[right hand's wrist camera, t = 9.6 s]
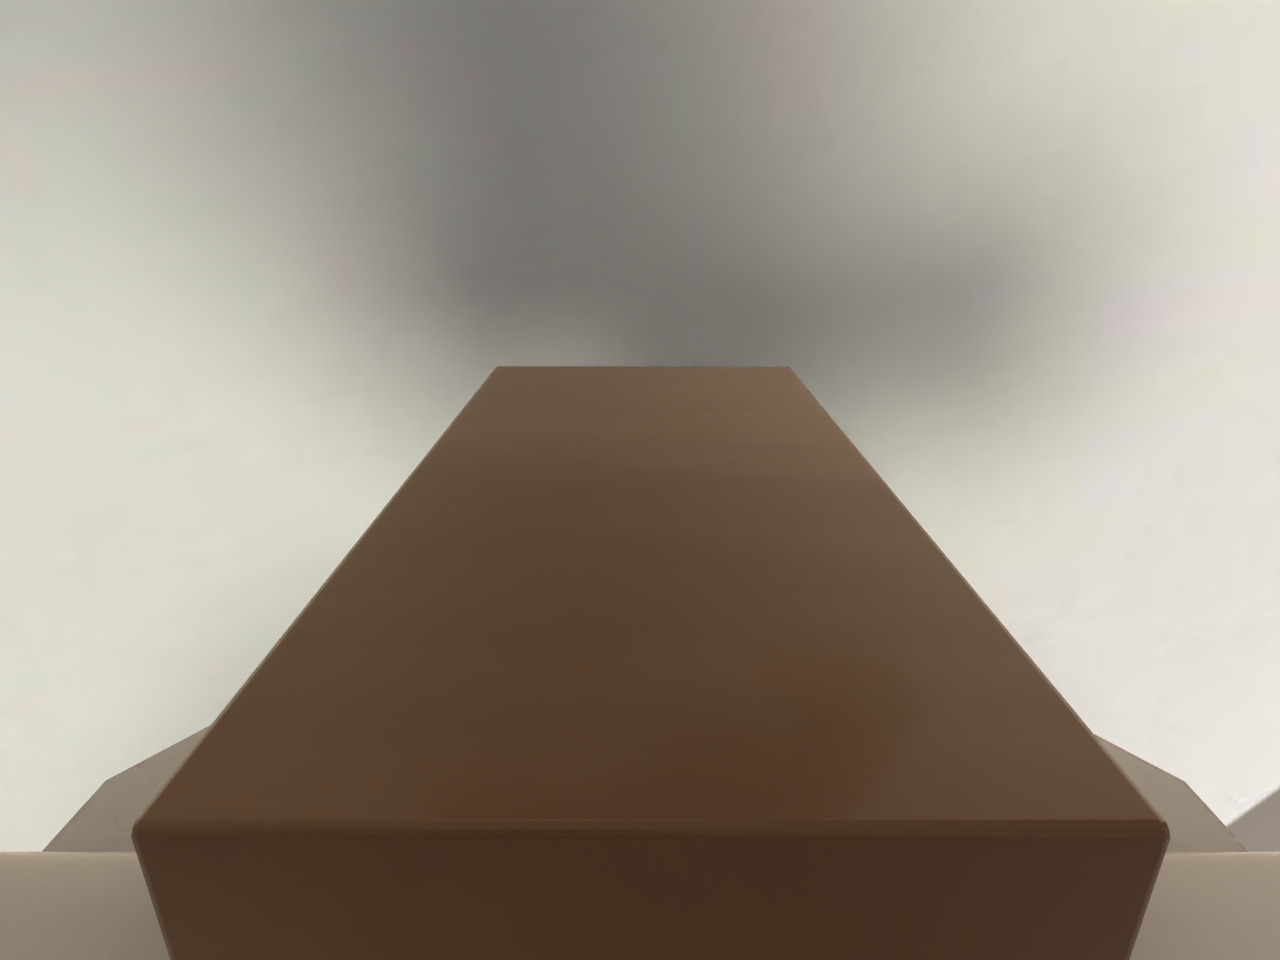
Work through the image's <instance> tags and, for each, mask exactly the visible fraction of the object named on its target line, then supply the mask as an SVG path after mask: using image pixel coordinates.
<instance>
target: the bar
mask: <svg viewBox="0 0 1280 960" xmlns="http://www.w3.org/2000/svg"><path fill="white" fill-rule="evenodd" d="M131 838H132V841H133V844H134V847H135V851H136V854H137V857H138V860H139V863H140V866H141V869H142V872H143V876H144V879H145V882H146V885H147V888H148V891H149V894H150V898H151V901H152V904H153V907H154V910H155V913H156V916H157V919H158V923H159V926H160V929H161V932H162V935H163V938H164V941H165V944H166V948H167V951H168V954H169V957H170V960H1129V959H1130V956H1131V953H1132V950H1133V947H1134V945H1135V942H1136V939H1137V936H1138V933H1139V930H1140V927H1141V924H1142V921H1143V918H1144V915H1145V912H1146V909H1147V906H1148V903H1149V900H1150V897H1151V894H1152V891H1153V888H1154V885H1155V882H1156V879H1157V876H1158V873H1159V871H1160V868H1161V865H1162V862H1163V859H1164V856H1165V853H1166V850H1167V847H1168V844H1169V841H1170V831H1169V828H1168V825H1167V823H1166V821H1165V820H1164V819H1163V817H1162V816H1161V815H1160V814H1159V813H1158V811H1157V810H1156V809H1155V808H1154V806H1153V805H1152V804H1151V803H1150V802H1149V800H1148V799H1147V798H1146V797H1145V796H1144V794H1143V793H1142V792H1141V791H1140V790H1139V788H1138V787H1137V786H1136V785H1135V784H1134V782H1133V781H1132V780H1131V779H1130V778H1129V776H1128V775H1127V774H1126V773H1125V771H1124V770H1123V769H1122V768H1121V767H1120V765H1119V764H1118V763H1117V762H1116V761H1115V759H1114V758H1113V757H1112V756H1111V755H1110V753H1109V752H1108V751H1107V750H1106V749H1105V747H1104V746H1103V745H1102V744H1101V743H1100V741H1099V740H1098V739H1097V738H1096V737H1095V735H1094V734H1093V733H1092V732H1091V730H1090V729H1089V728H1088V727H1087V726H1086V724H1085V723H1084V722H1083V721H1082V720H1081V718H1080V717H1079V716H1078V715H1077V714H1076V712H1075V711H1074V710H1073V709H1072V708H1071V706H1070V705H1069V704H1068V703H1067V702H1066V700H1065V699H1064V698H1063V697H1062V695H1061V694H1060V693H1059V692H1058V691H1057V689H1056V688H1055V687H1054V686H1053V685H1052V683H1051V682H1050V681H1049V680H1048V679H1047V677H1046V676H1045V675H1044V674H1043V673H1042V671H1041V670H1040V669H1039V668H1038V667H1037V665H1036V664H1035V663H1034V662H1033V661H1032V659H1031V658H1030V657H1029V656H1028V654H1027V653H1026V652H1025V651H1024V650H1023V648H1022V647H1021V646H1020V645H1019V644H1018V642H1017V641H1016V640H1015V639H1014V638H1013V636H1012V635H1011V634H1010V633H1009V632H1008V630H1007V629H1006V628H1005V627H1004V626H1003V624H1002V623H1001V622H1000V621H999V619H998V618H997V617H996V616H995V615H994V613H993V612H992V611H991V610H990V609H989V607H988V606H987V605H986V604H985V603H984V601H983V600H982V599H981V598H980V597H979V595H978V594H977V593H976V592H975V591H974V589H973V588H972V587H971V586H970V585H969V583H968V582H967V581H966V580H965V578H964V577H963V576H962V575H961V574H960V572H959V571H958V570H957V569H956V568H955V566H954V565H953V564H952V563H951V562H950V560H949V559H948V558H947V557H946V556H945V554H944V553H943V552H942V551H941V550H940V548H939V547H938V546H937V545H936V543H935V542H934V541H933V540H932V539H931V537H930V536H929V535H928V534H927V533H926V531H925V530H924V529H923V528H922V527H921V525H920V524H919V523H918V522H917V521H916V519H915V518H914V517H913V516H912V515H911V513H910V512H909V511H908V510H907V509H906V507H905V506H904V505H903V504H902V502H901V501H900V500H899V499H898V498H897V496H896V495H895V494H894V493H893V492H892V490H891V489H890V488H889V487H888V486H887V484H886V483H885V482H884V481H883V480H882V478H881V477H880V476H879V475H878V474H877V472H876V471H875V470H874V469H873V467H872V466H871V465H870V464H869V463H868V461H867V460H866V459H865V458H864V457H863V455H862V454H861V453H860V452H859V451H858V449H857V448H856V447H855V446H854V445H853V443H852V442H851V441H850V440H849V439H848V437H847V436H846V435H845V434H844V433H843V431H842V430H841V429H840V428H839V426H838V425H837V424H836V423H835V422H834V420H833V419H832V418H831V417H830V416H829V414H828V413H827V412H826V411H825V410H824V408H823V407H822V406H821V405H820V404H819V402H818V401H817V400H816V399H815V398H814V396H813V395H812V394H811V393H810V391H809V390H808V389H807V388H806V387H805V385H804V384H803V383H802V382H801V381H800V379H799V378H798V377H797V376H796V375H795V373H794V372H793V371H792V370H791V369H790V368H789V367H580V366H499V367H496V368H495V369H494V371H493V372H492V373H491V374H490V376H489V377H488V378H487V379H486V381H485V382H484V383H483V384H482V386H481V387H480V388H479V389H478V391H477V392H476V393H475V394H474V396H473V397H472V398H471V400H470V401H469V402H468V403H467V405H466V406H465V407H464V408H463V410H462V411H461V412H460V413H459V415H458V416H457V417H456V418H455V420H454V421H453V422H452V423H451V425H450V426H449V427H448V428H447V430H446V431H445V432H444V433H443V435H442V436H441V437H440V438H439V440H438V441H437V442H436V443H435V445H434V446H433V447H432V448H431V450H430V451H429V452H428V454H427V455H426V456H425V457H424V459H423V460H422V461H421V462H420V464H419V465H418V466H417V467H416V469H415V470H414V471H413V472H412V474H411V475H410V476H409V477H408V479H407V480H406V481H405V482H404V484H403V485H402V486H401V487H400V489H399V490H398V491H397V492H396V494H395V495H394V496H393V497H392V499H391V500H390V501H389V503H388V504H387V505H386V506H385V508H384V509H383V510H382V511H381V513H380V514H379V515H378V516H377V518H376V519H375V520H374V521H373V523H372V524H371V525H370V526H369V528H368V529H367V530H366V531H365V533H364V534H363V535H362V536H361V538H360V539H359V540H358V541H357V543H356V544H355V545H354V546H353V548H352V549H351V550H350V551H349V553H348V554H347V555H346V557H345V558H344V559H343V560H342V562H341V563H340V564H339V565H338V567H337V568H336V569H335V570H334V572H333V573H332V574H331V575H330V577H329V578H328V579H327V580H326V582H325V583H324V584H323V585H322V587H321V588H320V589H319V590H318V592H317V593H316V594H315V595H314V597H313V598H312V599H311V600H310V602H309V603H308V604H307V606H306V607H305V608H304V609H303V611H302V612H301V613H300V614H299V616H298V617H297V618H296V619H295V621H294V622H293V623H292V624H291V626H290V627H289V628H288V629H287V631H286V632H285V633H284V634H283V636H282V637H281V638H280V639H279V641H278V642H277V643H276V644H275V646H274V647H273V648H272V649H271V651H270V652H269V653H268V655H267V656H266V657H265V658H264V660H263V661H262V662H261V663H260V665H259V666H258V667H257V668H256V670H255V671H254V672H253V673H252V675H251V676H250V677H249V678H248V680H247V681H246V682H245V683H244V685H243V686H242V687H241V688H240V690H239V691H238V692H237V693H236V695H235V696H234V697H233V698H232V700H231V701H230V702H229V703H228V705H227V706H226V707H225V709H224V710H223V711H222V712H221V714H220V715H219V716H218V717H217V719H216V720H215V721H214V722H213V724H212V725H211V726H210V727H209V729H208V730H207V731H206V732H205V734H204V735H203V736H202V737H201V739H200V740H199V741H198V742H197V744H196V745H195V746H194V747H193V749H192V750H191V751H190V752H189V754H188V755H187V756H186V758H185V759H184V760H183V761H182V763H181V764H180V765H179V766H178V768H177V769H176V770H175V771H174V773H173V774H172V775H171V776H170V778H169V779H168V780H167V781H166V783H165V784H164V785H163V786H162V788H161V789H160V790H159V791H158V793H157V794H156V795H155V796H154V798H153V799H152V800H151V801H150V803H149V804H148V805H147V806H146V808H145V809H144V810H143V812H142V813H141V814H140V815H139V817H138V818H137V819H136V820H135V823H134V825H133V828H132V835H131Z"/></svg>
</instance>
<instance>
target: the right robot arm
mask: <svg viewBox="0 0 1280 960" xmlns="http://www.w3.org/2000/svg"><path fill="white" fill-rule="evenodd" d="M210 726H211V725H210ZM210 726H209V727H210ZM209 727H207V728H205V729H203V730H201V731H199V732H197V733H195V734H193V735H192V736H190V737H188V738H186V739H184V740H182V741H180V742H178V743H176V744H175V745H173V746H171V747H169V748H167V749H165V750H163V751H161V752H159V753H157V754H156V755H154V756H152V757H150V758H148V759H146V760H144V761H142V762H140V763H139V764H137V765H135V766H133V767H131V768H129V769H127V770H125V771H123V772H121V773H120V774H118V775H116V776H114V777H112V778H110V779H108V780H106V781H105V782H104V783H103V785H102V786H101V787H100V788H99V789H98V790H97V791H96V792H95V793H94V794H93V796H92V797H91V798H90V799H89V800H88V801H87V802H86V803H85V804H84V806H83V807H82V808H81V809H80V810H79V811H78V812H77V813H76V814H75V815H74V817H73V818H72V819H71V820H70V821H69V822H68V823H67V824H66V825H65V827H64V828H63V829H62V830H61V831H60V832H59V833H58V834H57V835H56V837H55V838H54V839H53V840H52V841H51V842H50V843H49V844H48V845H47V846H46V848H45V849H44V850H43V851H42V852H0V960H170V957H169V954H168V951H167V948H166V944H165V941H164V938H163V935H162V932H161V929H160V926H159V923H158V919H157V916H156V913H155V910H154V907H153V904H152V901H151V898H150V894H149V891H148V888H147V885H146V882H145V879H144V876H143V872H142V869H141V866H140V863H139V860H138V857H137V854H136V851H135V847H134V844H133V841H132V838H131V835H132V828H133V825H134V823H135V820H136V819H137V818H138V817H139V815H140V814H141V813H142V812H143V810H144V809H145V808H146V806H147V805H148V804H149V803H150V801H151V800H152V799H153V798H154V796H155V795H156V794H157V793H158V791H159V790H160V789H161V788H162V786H163V785H164V784H165V783H166V781H167V780H168V779H169V778H170V776H171V775H172V774H173V773H174V771H175V770H176V769H177V768H178V766H179V765H180V764H181V763H182V761H183V760H184V759H185V758H186V756H187V755H188V754H189V752H190V751H191V750H192V749H193V747H194V746H195V745H196V744H197V742H198V741H199V740H200V739H201V737H202V736H203V735H204V734H205V732H206V731H207V730H208V729H209ZM1094 735H1095V734H1094ZM1095 737H1096V738H1097V739H1098V740H1099V741H1100V743H1101V744H1102V745H1103V746H1104V747H1105V749H1106V750H1107V751H1108V752H1109V753H1110V755H1111V756H1112V757H1113V758H1114V759H1115V761H1116V762H1117V763H1118V764H1119V765H1120V767H1121V768H1122V769H1123V770H1124V771H1125V773H1126V774H1127V775H1128V776H1129V778H1130V779H1131V780H1132V781H1133V782H1134V784H1135V785H1136V786H1137V787H1138V788H1139V790H1140V791H1141V792H1142V793H1143V794H1144V796H1145V797H1146V798H1147V799H1148V800H1149V802H1150V803H1151V804H1152V805H1153V806H1154V808H1155V809H1156V810H1157V811H1158V813H1159V814H1160V815H1161V816H1162V817H1163V819H1164V820H1165V821H1166V823H1167V825H1168V828H1169V831H1170V841H1169V844H1168V847H1167V850H1166V853H1165V856H1164V859H1163V862H1162V865H1161V868H1160V871H1159V873H1158V876H1157V879H1156V882H1155V885H1154V888H1153V891H1152V894H1151V897H1150V900H1149V903H1148V906H1147V909H1146V912H1145V915H1144V918H1143V921H1142V924H1141V927H1140V930H1139V933H1138V936H1137V939H1136V942H1135V945H1134V947H1133V950H1132V953H1131V956H1130V959H1129V960H1280V852H1249V851H1248V850H1247V849H1246V848H1245V847H1244V846H1243V845H1242V844H1241V843H1240V842H1239V841H1238V839H1237V838H1236V837H1235V836H1234V835H1233V834H1232V833H1231V832H1230V831H1229V830H1228V828H1227V827H1226V826H1225V825H1224V824H1223V823H1222V822H1221V821H1220V820H1219V819H1218V818H1217V816H1216V815H1215V814H1214V813H1213V812H1212V811H1211V810H1210V809H1209V808H1208V807H1207V806H1206V804H1205V803H1204V802H1203V801H1202V800H1201V799H1200V798H1199V797H1198V796H1197V795H1196V793H1195V792H1194V791H1193V790H1192V789H1191V788H1190V787H1189V786H1188V785H1187V784H1186V783H1185V782H1184V781H1182V780H1180V779H1179V778H1177V777H1175V776H1173V775H1171V774H1169V773H1167V772H1165V771H1163V770H1161V769H1159V768H1158V767H1156V766H1154V765H1152V764H1150V763H1148V762H1146V761H1144V760H1142V759H1140V758H1139V757H1137V756H1135V755H1133V754H1131V753H1129V752H1127V751H1125V750H1123V749H1121V748H1119V747H1118V746H1116V745H1114V744H1112V743H1110V742H1108V741H1106V740H1104V739H1102V738H1100V737H1098V736H1097V735H1095Z"/></svg>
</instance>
